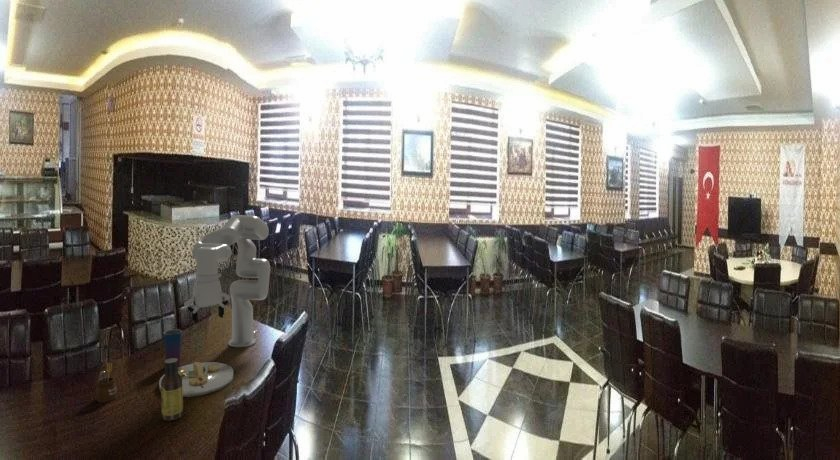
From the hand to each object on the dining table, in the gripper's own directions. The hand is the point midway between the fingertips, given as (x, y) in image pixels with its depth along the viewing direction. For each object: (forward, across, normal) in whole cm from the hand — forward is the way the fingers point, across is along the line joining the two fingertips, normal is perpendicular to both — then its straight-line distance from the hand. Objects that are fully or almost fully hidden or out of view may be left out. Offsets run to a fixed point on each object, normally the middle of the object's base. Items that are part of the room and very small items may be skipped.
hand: (208, 319), depth 173 cm
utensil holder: (+23, +34, -2) cm, 41 cm away
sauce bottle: (+23, +20, +25) cm, 40 cm away
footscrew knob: (+21, +7, +10) cm, 24 cm away
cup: (+24, +9, -18) cm, 32 cm away
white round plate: (+24, +6, +3) cm, 24 cm away
